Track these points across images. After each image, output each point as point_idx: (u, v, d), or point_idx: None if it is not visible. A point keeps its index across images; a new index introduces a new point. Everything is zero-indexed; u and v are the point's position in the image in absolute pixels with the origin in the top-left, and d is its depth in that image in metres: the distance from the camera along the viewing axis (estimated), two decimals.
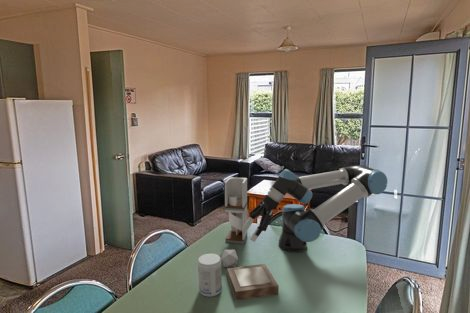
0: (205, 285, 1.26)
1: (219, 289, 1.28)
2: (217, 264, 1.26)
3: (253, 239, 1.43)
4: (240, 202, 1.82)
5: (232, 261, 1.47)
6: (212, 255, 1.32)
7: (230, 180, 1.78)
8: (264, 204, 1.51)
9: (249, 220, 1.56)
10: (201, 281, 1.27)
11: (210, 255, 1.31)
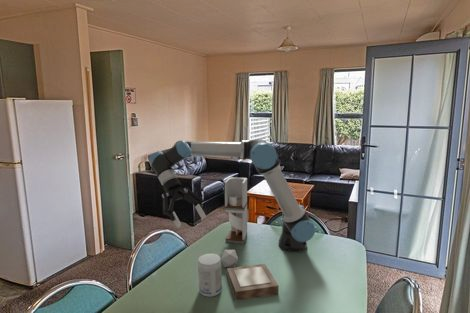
0: (205, 285, 1.26)
1: (219, 289, 1.28)
2: (217, 264, 1.26)
3: (177, 224, 1.28)
4: (240, 202, 1.82)
5: (232, 261, 1.47)
6: (212, 255, 1.32)
7: (230, 180, 1.78)
8: None
9: (197, 209, 1.40)
10: (201, 281, 1.27)
11: (210, 255, 1.31)
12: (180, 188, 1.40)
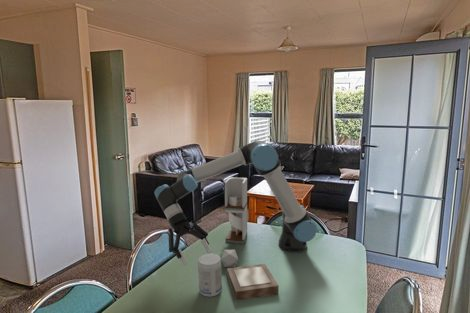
0: (205, 285, 1.26)
1: (219, 289, 1.28)
2: (217, 264, 1.26)
3: (184, 262, 1.28)
4: (240, 202, 1.82)
5: (232, 261, 1.47)
6: (212, 255, 1.32)
7: (230, 180, 1.78)
8: None
9: (203, 243, 1.40)
10: (201, 281, 1.27)
11: (210, 255, 1.31)
12: (186, 222, 1.40)
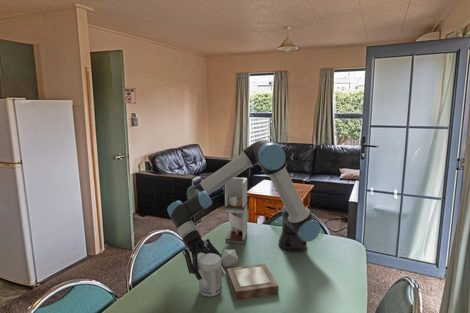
0: None
1: (219, 289, 1.28)
2: (217, 264, 1.26)
3: (204, 284, 1.24)
4: (240, 202, 1.82)
5: (232, 261, 1.47)
6: (212, 255, 1.32)
7: (230, 180, 1.78)
8: None
9: None
10: None
11: (210, 255, 1.31)
12: (200, 240, 1.36)
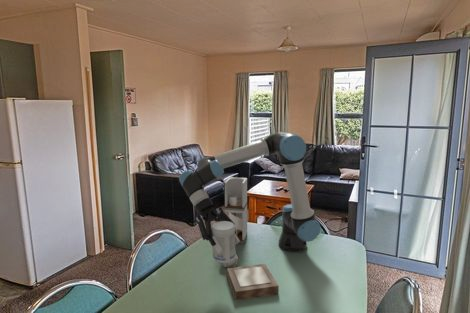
0: None
1: (233, 256, 1.27)
2: (231, 230, 1.25)
3: (218, 250, 1.23)
4: (240, 202, 1.82)
5: (232, 261, 1.47)
6: (226, 222, 1.30)
7: (230, 180, 1.78)
8: None
9: None
10: None
11: (223, 222, 1.30)
12: (213, 208, 1.34)
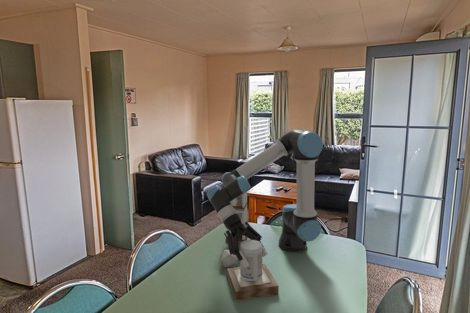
0: (248, 270, 1.29)
1: (260, 274, 1.31)
2: (259, 249, 1.29)
3: (245, 264, 1.27)
4: (240, 202, 1.82)
5: (232, 261, 1.47)
6: (253, 241, 1.35)
7: None
8: None
9: None
10: (243, 266, 1.30)
11: (251, 241, 1.34)
12: (240, 223, 1.38)
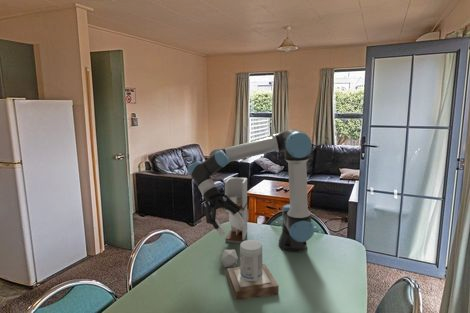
0: (248, 270, 1.29)
1: (260, 274, 1.31)
2: (259, 249, 1.29)
3: (221, 233, 1.33)
4: (240, 202, 1.82)
5: (232, 261, 1.47)
6: (253, 241, 1.34)
7: (230, 180, 1.78)
8: None
9: (236, 217, 1.45)
10: (243, 266, 1.30)
11: (251, 241, 1.34)
12: (220, 197, 1.45)
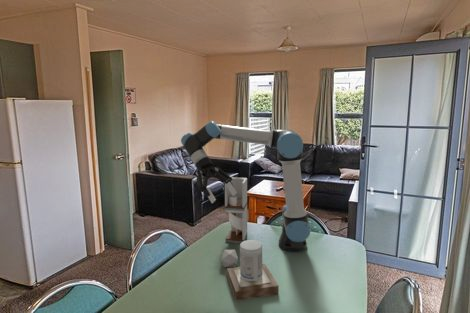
0: (248, 270, 1.29)
1: (260, 274, 1.31)
2: (259, 249, 1.29)
3: (212, 199, 1.36)
4: (240, 202, 1.82)
5: (232, 261, 1.47)
6: (253, 241, 1.34)
7: None
8: None
9: (228, 186, 1.47)
10: (243, 266, 1.30)
11: (251, 241, 1.34)
12: (212, 167, 1.47)
